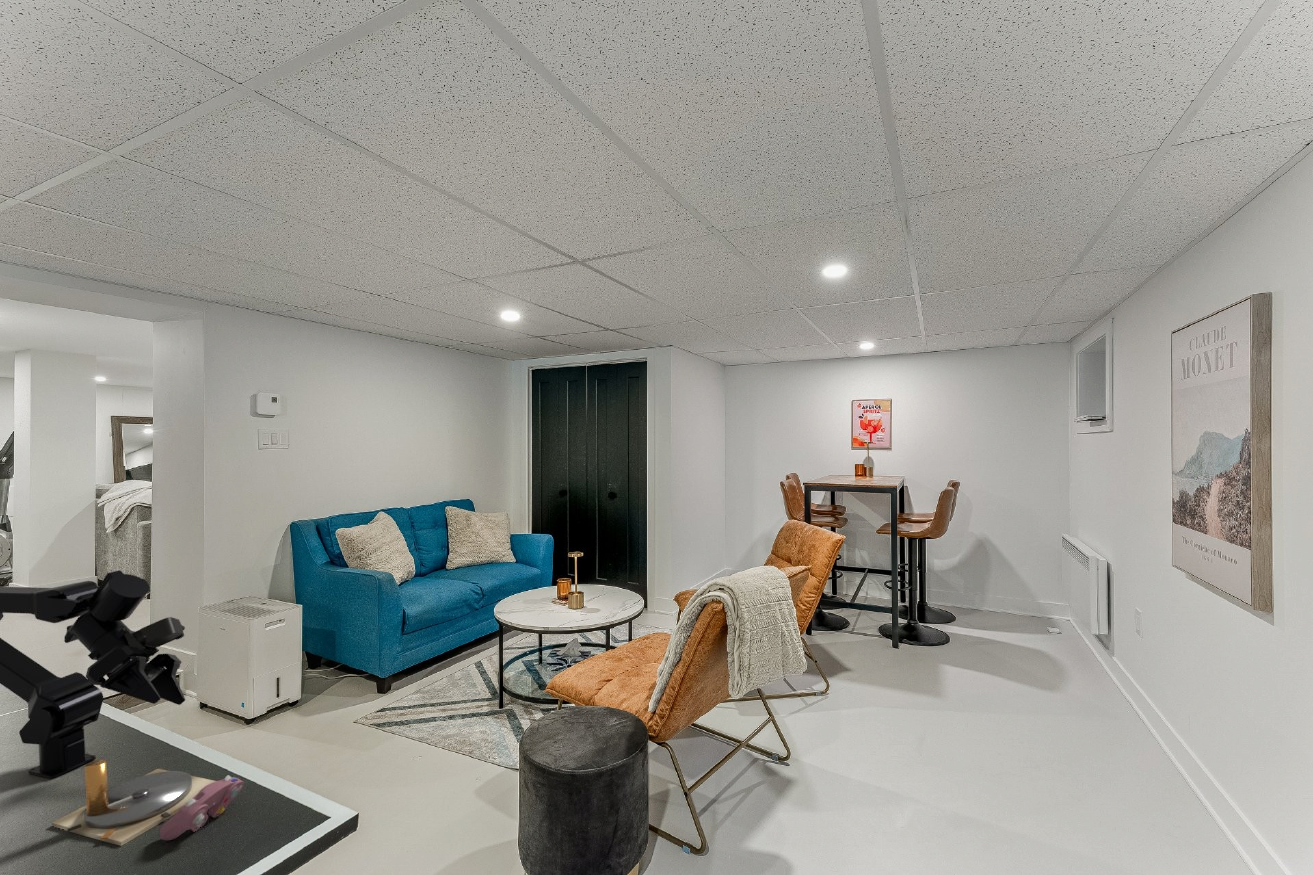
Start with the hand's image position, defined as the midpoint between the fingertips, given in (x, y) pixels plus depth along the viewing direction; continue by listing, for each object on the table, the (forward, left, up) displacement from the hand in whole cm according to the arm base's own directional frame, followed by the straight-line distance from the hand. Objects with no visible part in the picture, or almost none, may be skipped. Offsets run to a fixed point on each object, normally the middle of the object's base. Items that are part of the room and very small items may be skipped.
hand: (170, 702), depth 103 cm
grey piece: (+4, -8, -13) cm, 15 cm away
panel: (+4, -7, -13) cm, 15 cm away
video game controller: (+18, -8, -13) cm, 23 cm away
